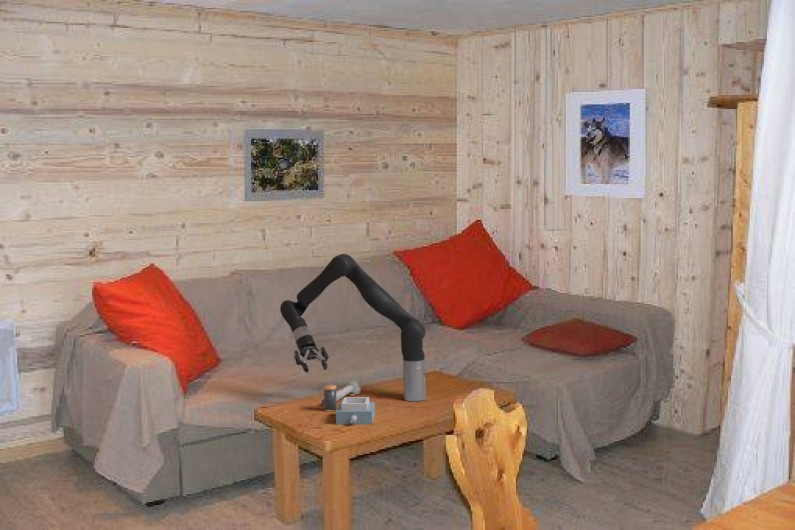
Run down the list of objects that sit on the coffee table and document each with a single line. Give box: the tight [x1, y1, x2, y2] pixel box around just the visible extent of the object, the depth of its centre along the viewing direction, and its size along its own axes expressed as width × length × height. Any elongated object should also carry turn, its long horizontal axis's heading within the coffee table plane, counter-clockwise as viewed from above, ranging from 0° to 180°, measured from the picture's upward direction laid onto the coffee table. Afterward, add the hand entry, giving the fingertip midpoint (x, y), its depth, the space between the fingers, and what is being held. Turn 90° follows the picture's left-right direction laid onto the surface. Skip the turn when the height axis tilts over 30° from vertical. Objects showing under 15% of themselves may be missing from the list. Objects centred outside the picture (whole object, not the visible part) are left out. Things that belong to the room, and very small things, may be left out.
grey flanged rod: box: [321, 380, 362, 406], centre depth 383 cm, size 5×7×25 cm
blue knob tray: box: [335, 396, 376, 425], centre depth 351 cm, size 14×17×8 cm
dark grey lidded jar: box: [322, 384, 338, 411], centre depth 367 cm, size 5×5×10 cm
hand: (316, 370), depth 375 cm, fingers open, 8 cm apart
